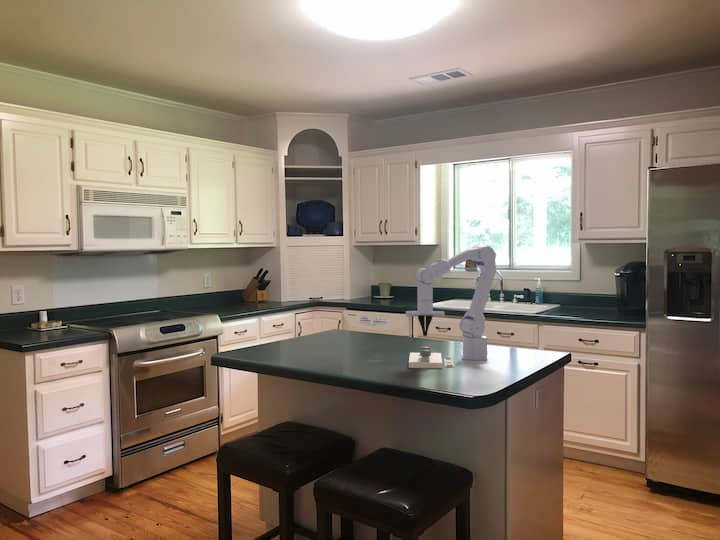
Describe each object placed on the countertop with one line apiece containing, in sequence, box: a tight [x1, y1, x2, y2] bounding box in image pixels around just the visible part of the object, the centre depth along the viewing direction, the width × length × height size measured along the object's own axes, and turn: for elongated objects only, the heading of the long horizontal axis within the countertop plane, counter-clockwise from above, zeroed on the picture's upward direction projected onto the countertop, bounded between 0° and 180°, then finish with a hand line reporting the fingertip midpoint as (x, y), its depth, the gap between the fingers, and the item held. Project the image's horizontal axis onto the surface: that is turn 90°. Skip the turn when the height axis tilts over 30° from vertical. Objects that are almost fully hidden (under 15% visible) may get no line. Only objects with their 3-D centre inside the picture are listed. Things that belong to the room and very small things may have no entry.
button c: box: [419, 349, 432, 362], centre depth 213 cm, size 4×4×4 cm
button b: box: [419, 345, 432, 351], centre depth 219 cm, size 4×4×4 cm
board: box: [408, 352, 443, 369], centre depth 219 cm, size 12×18×2 cm, turn 174°
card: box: [443, 357, 455, 368], centre depth 219 cm, size 3×14×1 cm, turn 173°
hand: (425, 335), depth 221 cm, fingers closed
